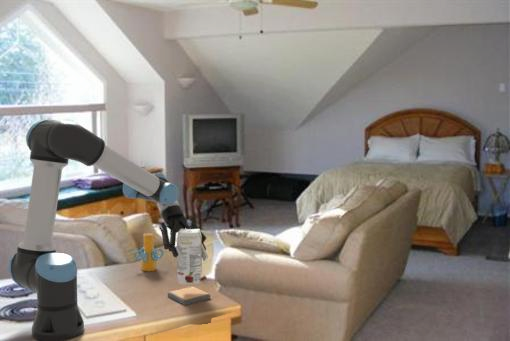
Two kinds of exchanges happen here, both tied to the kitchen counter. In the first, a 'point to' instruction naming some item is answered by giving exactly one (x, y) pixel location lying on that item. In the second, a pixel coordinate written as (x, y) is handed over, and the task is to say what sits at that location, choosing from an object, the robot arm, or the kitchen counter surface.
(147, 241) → the yellow and blue piece
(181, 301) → the board
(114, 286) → the kitchen counter surface
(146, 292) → the kitchen counter surface
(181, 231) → the juice carton
